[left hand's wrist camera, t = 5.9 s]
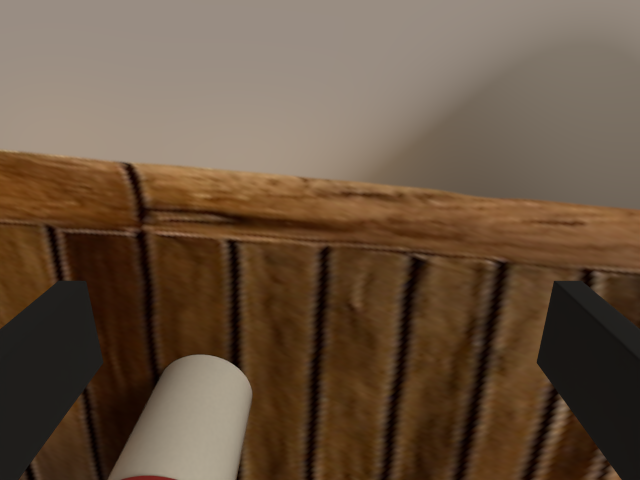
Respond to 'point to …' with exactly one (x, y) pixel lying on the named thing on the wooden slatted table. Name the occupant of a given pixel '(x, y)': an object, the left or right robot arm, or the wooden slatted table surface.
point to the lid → (148, 478)
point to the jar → (190, 423)
